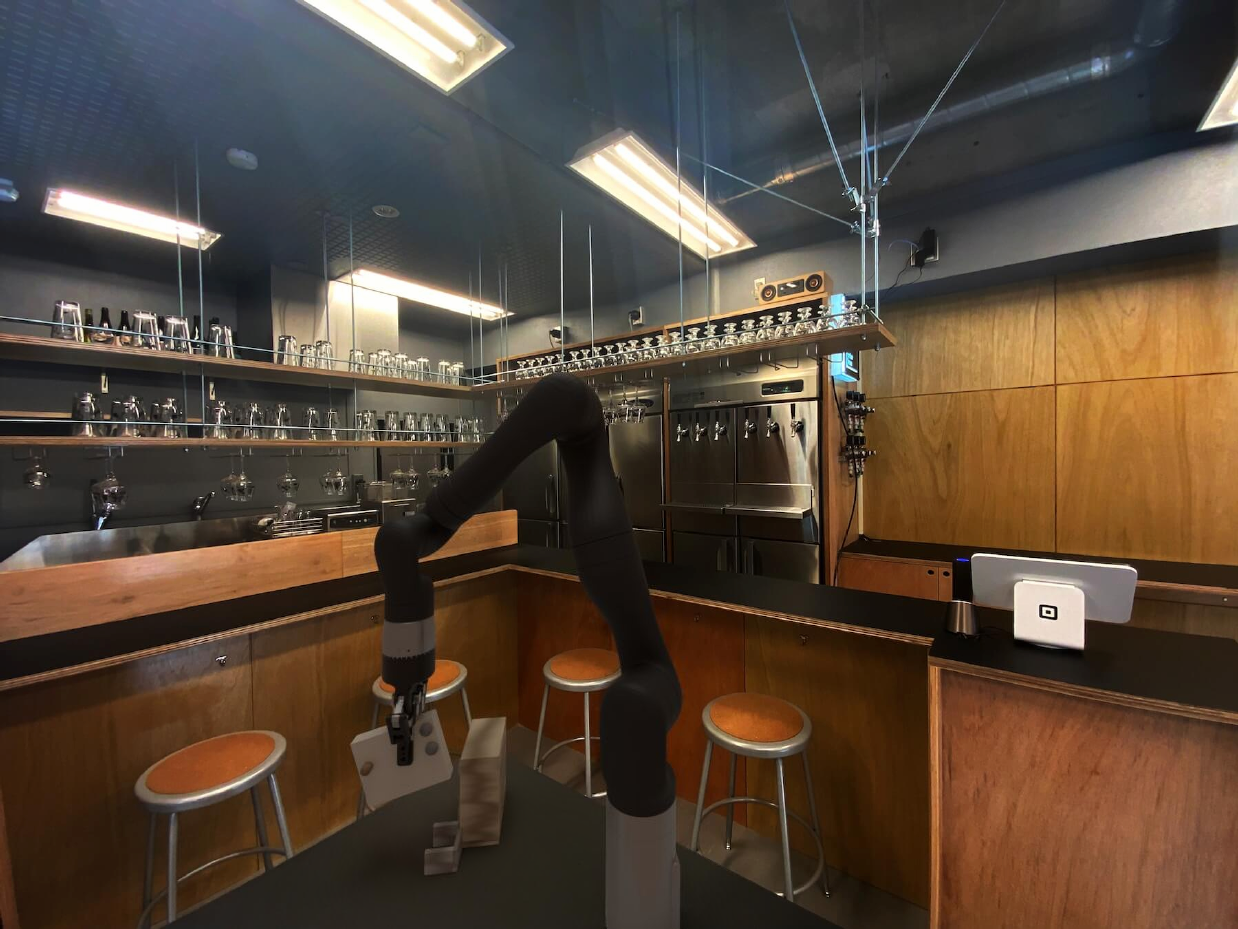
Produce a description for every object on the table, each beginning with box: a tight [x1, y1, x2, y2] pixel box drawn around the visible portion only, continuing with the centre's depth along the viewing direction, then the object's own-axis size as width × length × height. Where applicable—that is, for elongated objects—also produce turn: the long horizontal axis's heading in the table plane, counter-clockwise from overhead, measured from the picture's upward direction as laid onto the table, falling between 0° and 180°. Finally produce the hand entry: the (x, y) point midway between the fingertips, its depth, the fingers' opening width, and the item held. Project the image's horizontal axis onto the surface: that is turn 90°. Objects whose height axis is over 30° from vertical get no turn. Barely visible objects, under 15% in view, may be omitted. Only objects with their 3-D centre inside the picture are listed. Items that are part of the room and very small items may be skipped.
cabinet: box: [423, 716, 507, 876], centre depth 78 cm, size 10×16×14 cm, turn 8°
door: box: [350, 708, 454, 809], centre depth 71 cm, size 12×4×10 cm, turn 99°
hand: (408, 758), depth 72 cm, fingers closed on door, 2 cm apart
